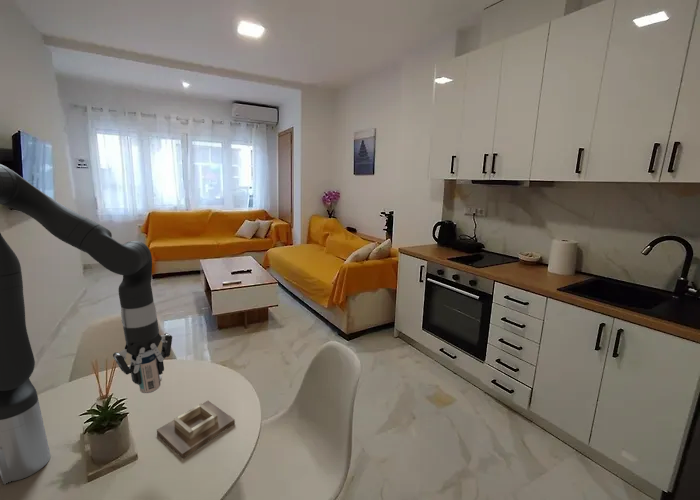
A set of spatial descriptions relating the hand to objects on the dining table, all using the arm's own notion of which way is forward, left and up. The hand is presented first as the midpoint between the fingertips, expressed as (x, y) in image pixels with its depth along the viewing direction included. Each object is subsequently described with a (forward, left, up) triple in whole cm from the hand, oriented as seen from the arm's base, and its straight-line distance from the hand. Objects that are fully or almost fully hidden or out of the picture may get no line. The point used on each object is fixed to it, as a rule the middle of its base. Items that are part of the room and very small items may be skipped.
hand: (149, 377), depth 90 cm
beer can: (0, 0, -4) cm, 4 cm away
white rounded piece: (+12, +29, -20) cm, 38 cm away
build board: (+9, -5, -20) cm, 22 cm away
